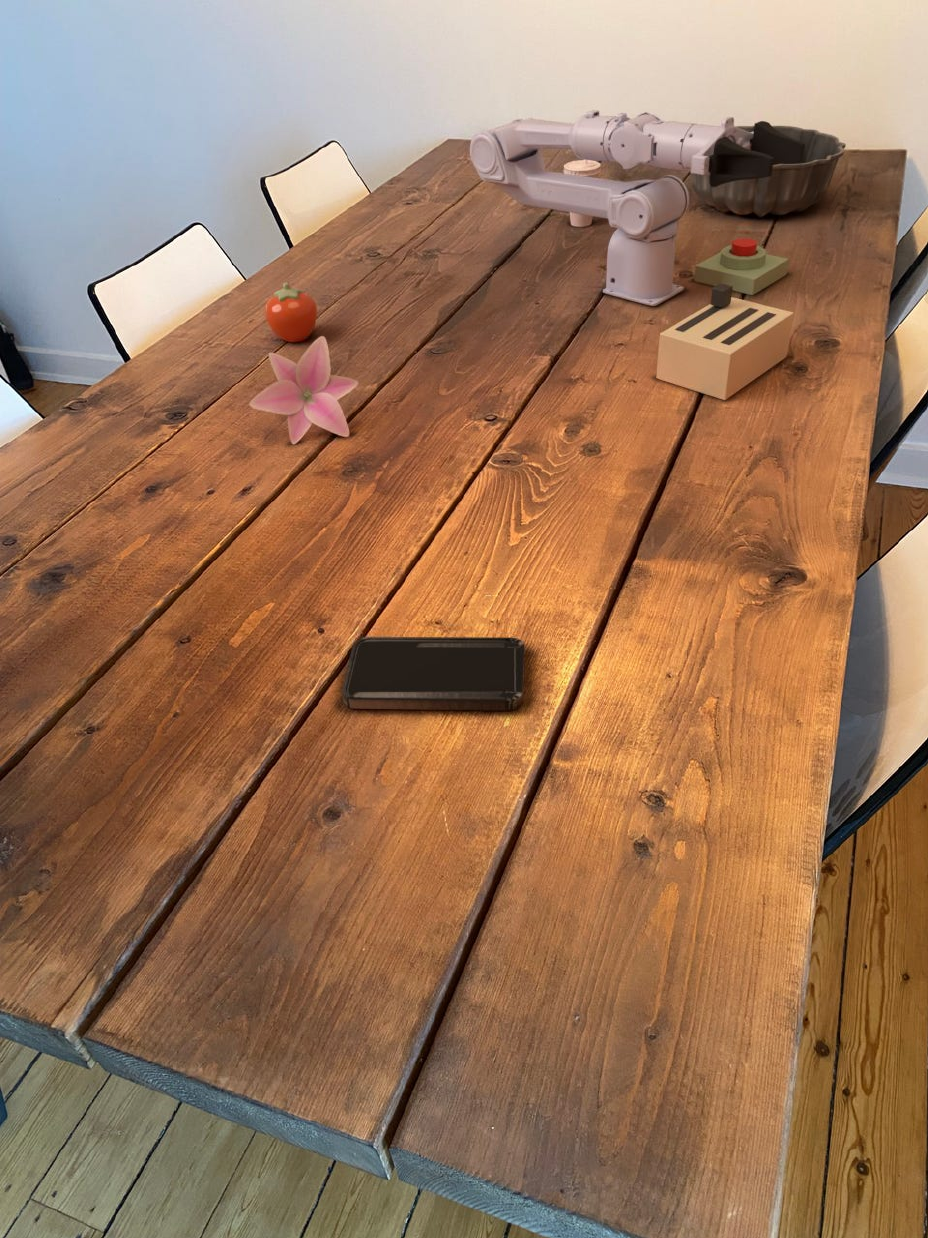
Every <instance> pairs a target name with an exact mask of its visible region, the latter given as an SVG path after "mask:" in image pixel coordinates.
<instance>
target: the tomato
mask: <svg viewBox="0 0 928 1238" xmlns="http://www.w3.org/2000/svg"><path fill="white" fill-rule="evenodd" d="M264 316H265V319H266V323H267V324H268V326H269V327H270V329H271V331H272V332H273V333H274V334H275V335H276V336H277V337H278V338H279V339H281V340H282V341H284V342H289V343H298V342H299V343H300V342H303V341H305V340H307V339H308V338H309V337H310V335H311V334H312V333H313V332H314V329H315V326H316V322H317V318H318V307H317V304H316V302H315V300H314V299H313V298H312V296H311V295H309V294H308V293H306V292H303V291H302V289H300V288H296V287H291V285H290V284H289V282H287V281H286V282H284V283H283V285H282V288H281V289H278V290H277V291H275V292H273V296H271V297H270V298H269V299H268V300H267V302H266V304H265V307H264Z"/></svg>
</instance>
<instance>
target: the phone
mask: <svg viewBox="0 0 928 1238" xmlns="http://www.w3.org/2000/svg"><path fill="white" fill-rule="evenodd" d="M524 679H525V643H524V642H523V640H521V639H519V638H517V637H507V636H506V637H503V636H502V637H501V636H500V637H493V636H492V637H489V636H488V637H485V636H484V637H483V636H482V637H481V636H480V637H477V636H475V637H473V636H472V637H470V636H469V637H468V636H467V637H466V636H452V637H451V636H447V637H446V636H363V637H360V638H358V639H356V640H355V641H354V642H353V644H352V648H351V650H350V655H349V659H348V663H347V668H346V671H345V676H344V679H343V683H342V688H341V694H342V699H343V704H344V705H345V706H347V708H350V709H356V710H361V709H362V710H434V711H435V710H439V711H441V710H442V711H443V710H444V711H513V710H517V709H518V708H520V707H521V706H522V704H523V702H524V682H525V681H524Z"/></svg>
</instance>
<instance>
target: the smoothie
mask: <svg viewBox="0 0 928 1238" xmlns="http://www.w3.org/2000/svg"><path fill="white" fill-rule="evenodd" d="M601 171H602V164H601V163H600V161H596V160H585V159H580V160H579V159H577V160H572V161H569V162H566V163H565V164H564V165H563V173H564V174H572V175H579V176H586V177H593V178H599V176H600V175H599V174H600V173H601ZM593 218H594V216H589V215H583V214H577V213H571V212H569V220H570V225H571V226H572V227H577V228H583V227H584V228H585V227H588V226H590V225H592V223H593Z"/></svg>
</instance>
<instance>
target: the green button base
mask: <svg viewBox="0 0 928 1238" xmlns="http://www.w3.org/2000/svg"><path fill="white" fill-rule="evenodd" d="M731 249H732V244H730V245H727V246H725V247H723V248H721V250H720V252H717V253H716V254H714V255H712V256H711V257H708V258H707V259H705V260H702V262H699V263H697V264H695V266H694V278H693V281H694V282H697V283H701V284H705V285H709V286H713V287H715V286H717V285H719V284H725V285H729V286H733V287H732V292H733V291H734V292H737V293H742V294H744V295H745V294H746V295H749V296H754V295H755V294H757V293H758V292H760V291H762V290H763V289H765V288H767V287H769V286H771V285H772V284H773V283H775V282H777V281H779V280H780V279H782V278H783V277H785V276H787V273H788V266H789V260H790V259H789V258H786V257H782V256H777V255H772V254H769V253H767V249H765V248H763V247H762V246H759V245H757V248H756V255H753V256H748V257H743V256H735V255H732V254H731Z"/></svg>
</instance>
